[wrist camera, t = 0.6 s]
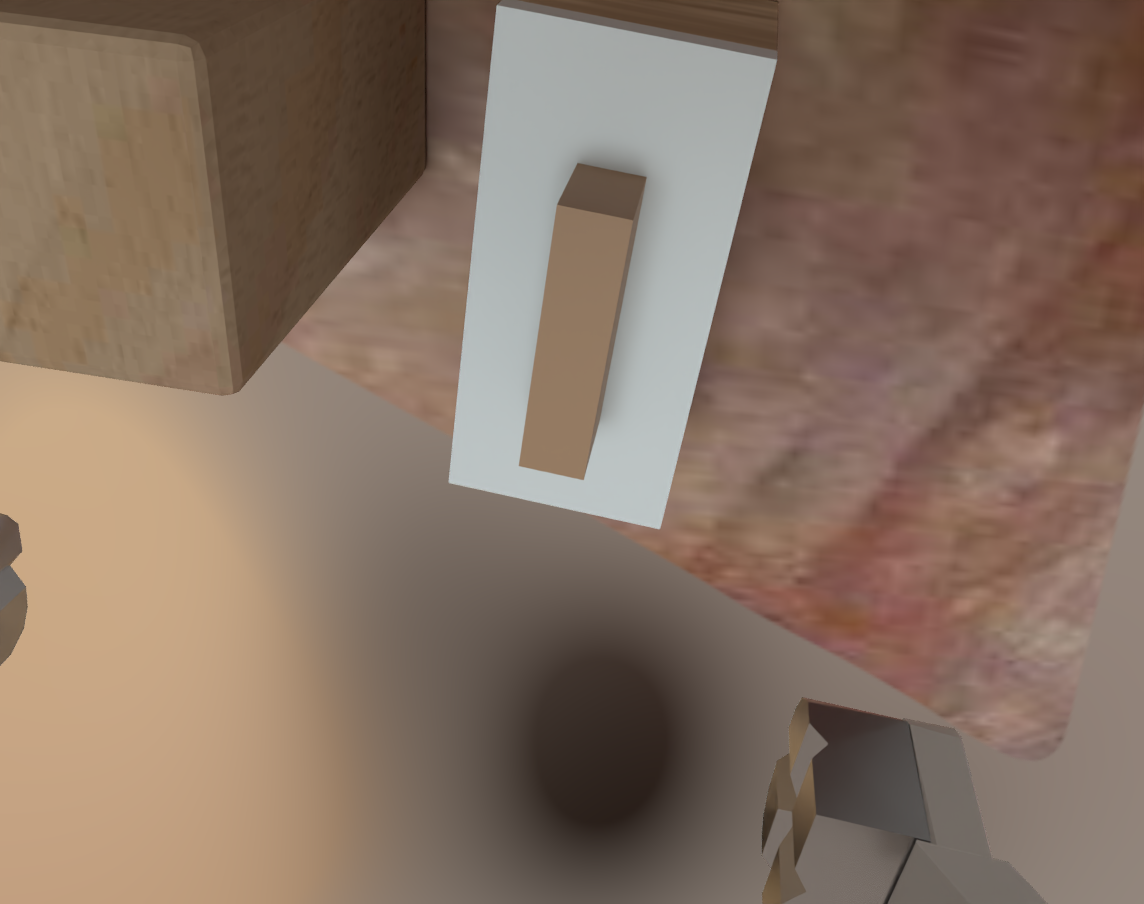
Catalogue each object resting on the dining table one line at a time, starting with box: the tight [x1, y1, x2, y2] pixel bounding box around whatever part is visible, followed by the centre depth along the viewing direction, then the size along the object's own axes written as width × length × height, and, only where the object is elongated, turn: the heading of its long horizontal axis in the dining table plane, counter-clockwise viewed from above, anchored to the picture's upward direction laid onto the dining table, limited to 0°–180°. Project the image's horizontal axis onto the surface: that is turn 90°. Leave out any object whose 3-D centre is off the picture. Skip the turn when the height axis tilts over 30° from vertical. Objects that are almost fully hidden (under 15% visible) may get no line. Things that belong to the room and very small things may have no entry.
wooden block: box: [0, 0, 425, 395], centre depth 36 cm, size 10×10×20 cm
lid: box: [449, 0, 777, 529], centre depth 38 cm, size 19×9×6 cm, turn 172°
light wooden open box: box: [519, 0, 778, 51], centre depth 43 cm, size 19×9×8 cm, turn 171°
